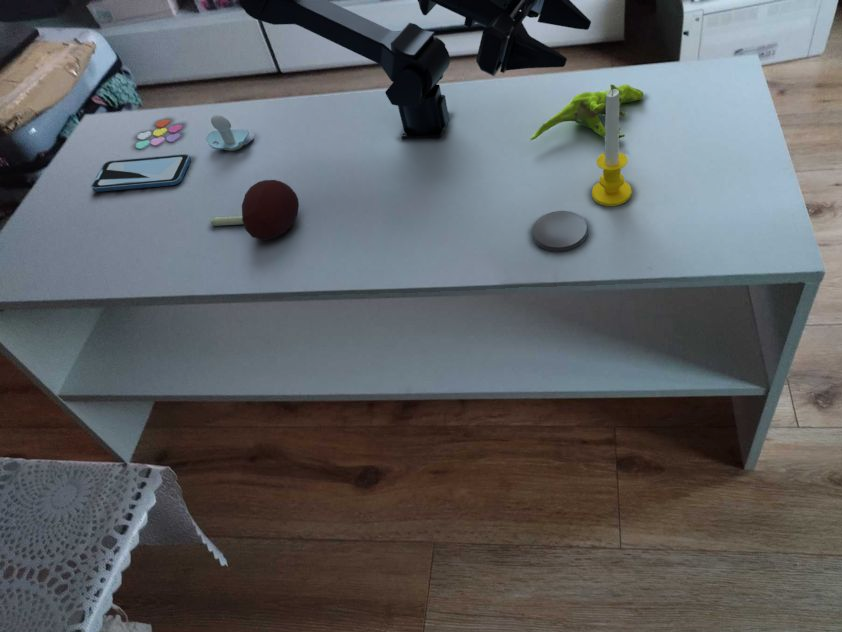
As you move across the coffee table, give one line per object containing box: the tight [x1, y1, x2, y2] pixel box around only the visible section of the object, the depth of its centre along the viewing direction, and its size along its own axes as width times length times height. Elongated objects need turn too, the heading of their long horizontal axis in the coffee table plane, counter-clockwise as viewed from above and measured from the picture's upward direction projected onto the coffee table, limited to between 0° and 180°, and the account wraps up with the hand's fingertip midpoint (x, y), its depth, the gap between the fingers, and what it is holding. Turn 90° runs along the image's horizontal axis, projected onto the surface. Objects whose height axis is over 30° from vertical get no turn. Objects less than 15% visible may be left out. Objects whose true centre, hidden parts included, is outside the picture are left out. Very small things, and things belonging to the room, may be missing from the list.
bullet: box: [210, 215, 244, 227], centre depth 102 cm, size 1×1×8 cm
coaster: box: [531, 210, 588, 253], centre depth 91 cm, size 7×7×1 cm
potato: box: [241, 179, 300, 241], centre depth 98 cm, size 8×9×6 cm
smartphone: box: [90, 153, 192, 193], centre depth 114 cm, size 7×1×15 cm
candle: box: [591, 89, 633, 207], centre depth 88 cm, size 5×5×16 cm
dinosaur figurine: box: [529, 83, 644, 141], centre depth 101 cm, size 20×10×6 cm, turn 133°
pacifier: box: [205, 114, 255, 152], centre depth 114 cm, size 7×6×6 cm
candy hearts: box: [135, 118, 183, 150], centre depth 122 cm, size 8×8×1 cm
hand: (578, 43), depth 89 cm, fingers open, 9 cm apart
